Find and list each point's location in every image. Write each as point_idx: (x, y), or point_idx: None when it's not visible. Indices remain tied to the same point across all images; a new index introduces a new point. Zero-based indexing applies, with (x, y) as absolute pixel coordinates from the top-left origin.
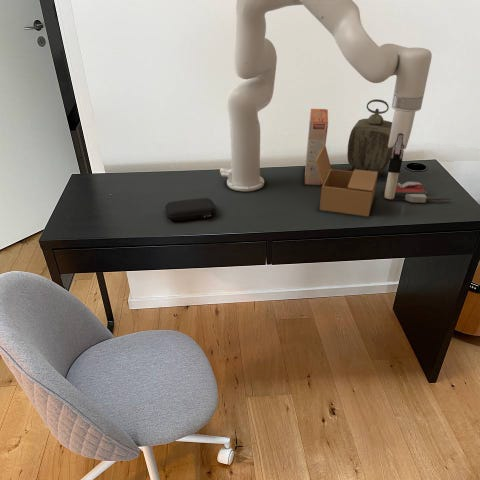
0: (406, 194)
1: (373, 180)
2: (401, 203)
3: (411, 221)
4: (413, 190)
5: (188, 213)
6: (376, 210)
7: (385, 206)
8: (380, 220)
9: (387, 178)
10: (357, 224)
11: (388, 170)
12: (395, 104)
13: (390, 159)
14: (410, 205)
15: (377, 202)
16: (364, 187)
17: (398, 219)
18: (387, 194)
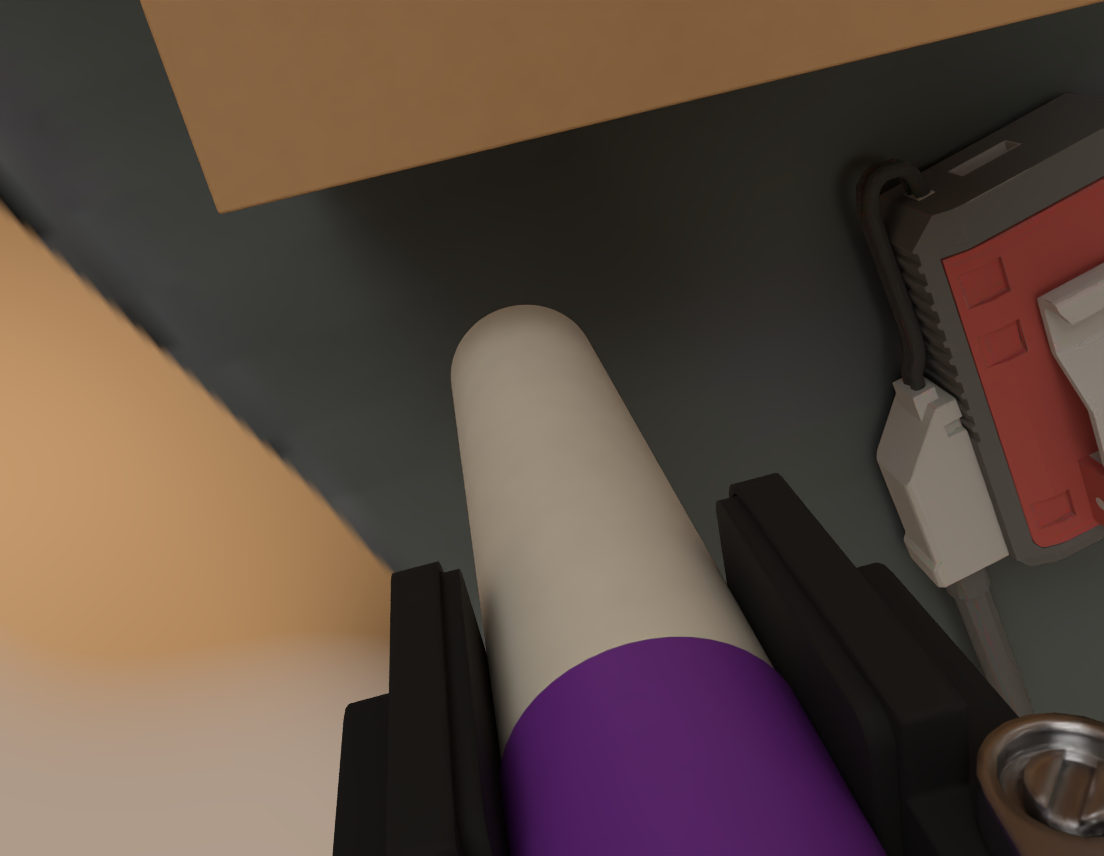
0: (950, 397)
1: (671, 63)
2: (834, 355)
3: (473, 565)
4: (1025, 459)
5: None
6: (532, 165)
7: (687, 225)
8: (306, 297)
9: (535, 429)
10: (10, 79)
11: (393, 590)
12: None
13: (389, 832)
14: (821, 447)
15: (754, 98)
16: (228, 10)
17: (445, 451)
18: (454, 388)
